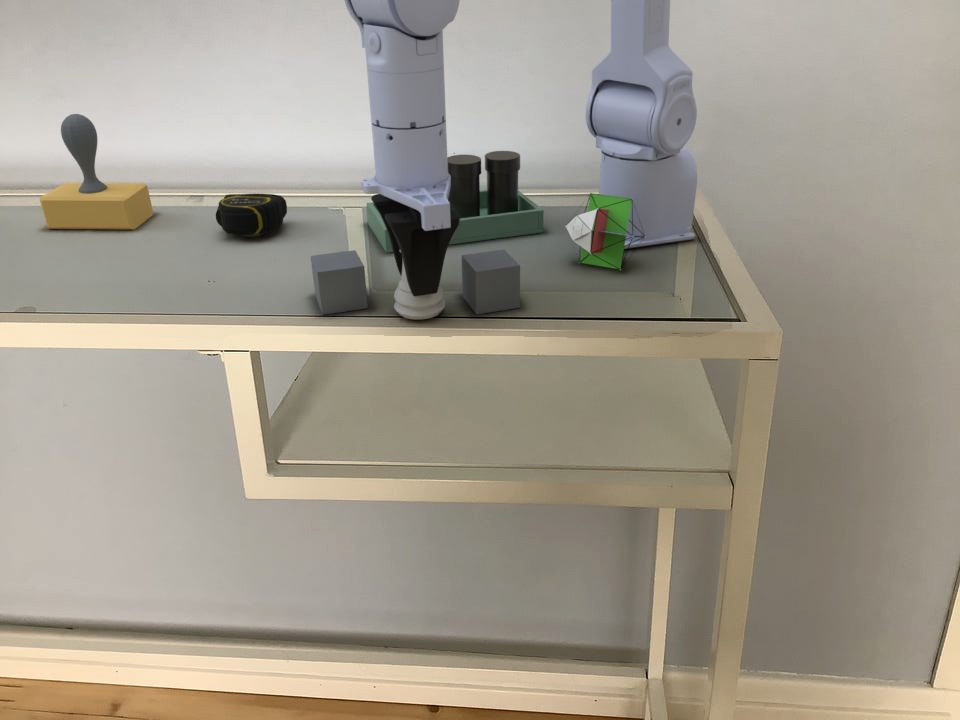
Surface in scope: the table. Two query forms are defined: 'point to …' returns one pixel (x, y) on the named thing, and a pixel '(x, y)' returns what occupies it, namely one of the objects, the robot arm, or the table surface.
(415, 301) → the rook chess piece
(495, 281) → the grey cube
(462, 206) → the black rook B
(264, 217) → the tape measure
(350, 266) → the grey cube
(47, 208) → the rubber stamp
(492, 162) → the black capped canister
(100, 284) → the table surface
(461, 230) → the tray
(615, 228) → the geometric puzzle
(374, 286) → the table surface
